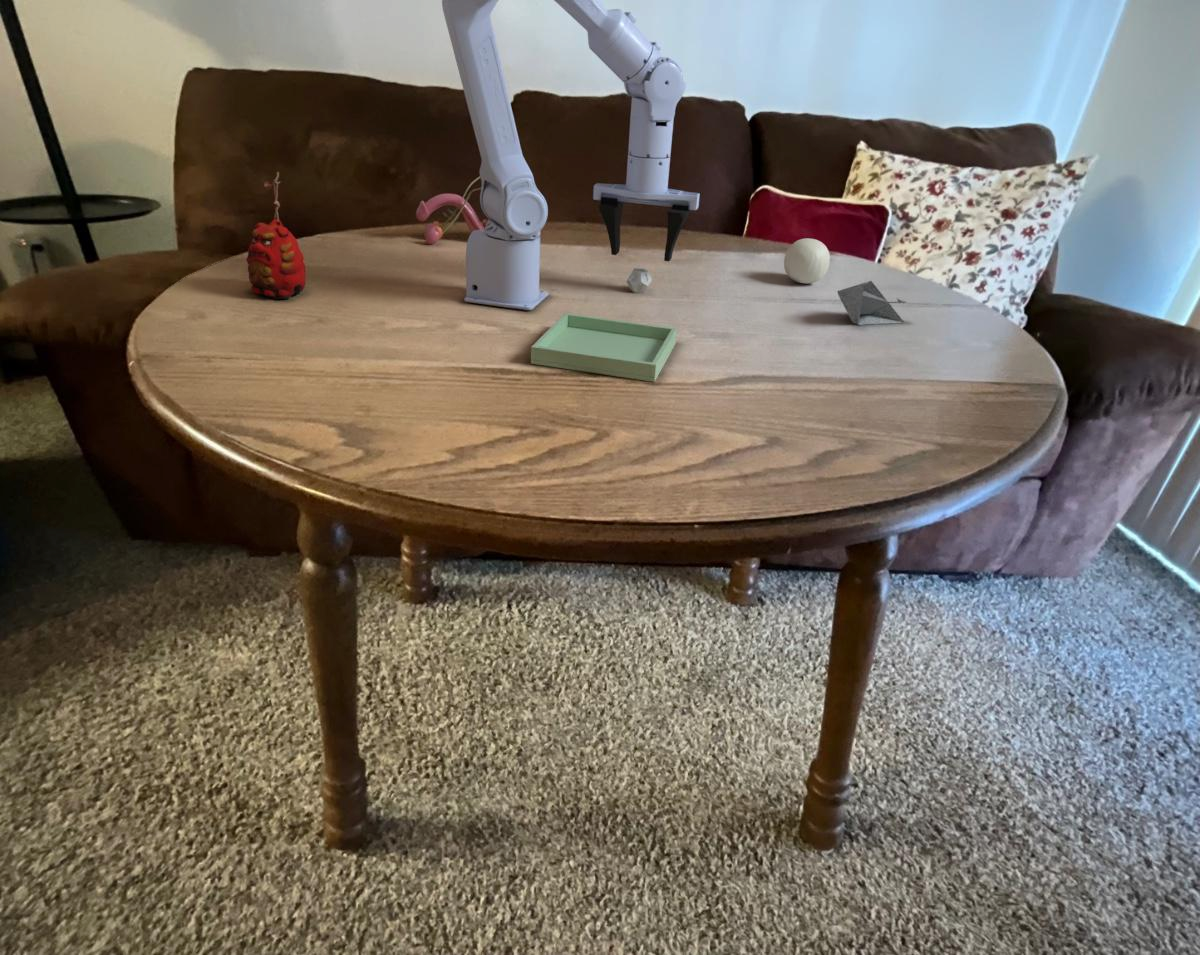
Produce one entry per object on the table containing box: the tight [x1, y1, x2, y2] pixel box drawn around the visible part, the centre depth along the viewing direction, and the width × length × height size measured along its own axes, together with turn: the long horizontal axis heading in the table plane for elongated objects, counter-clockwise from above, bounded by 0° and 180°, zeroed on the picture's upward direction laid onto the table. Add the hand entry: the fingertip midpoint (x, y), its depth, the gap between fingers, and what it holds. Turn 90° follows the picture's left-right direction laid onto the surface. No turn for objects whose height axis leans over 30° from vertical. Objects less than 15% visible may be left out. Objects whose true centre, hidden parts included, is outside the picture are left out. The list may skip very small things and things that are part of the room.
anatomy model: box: [415, 175, 488, 245], centre depth 141 cm, size 10×14×15 cm
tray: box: [530, 312, 678, 383], centre depth 99 cm, size 14×13×2 cm
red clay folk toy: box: [245, 171, 307, 300], centre depth 109 cm, size 8×7×15 cm
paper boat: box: [837, 280, 908, 326], centre depth 113 cm, size 12×6×9 cm
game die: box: [626, 267, 653, 294], centre depth 122 cm, size 4×4×3 cm
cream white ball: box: [783, 237, 831, 285], centre depth 130 cm, size 7×7×7 cm
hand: (641, 256), depth 120 cm, fingers open, 7 cm apart
